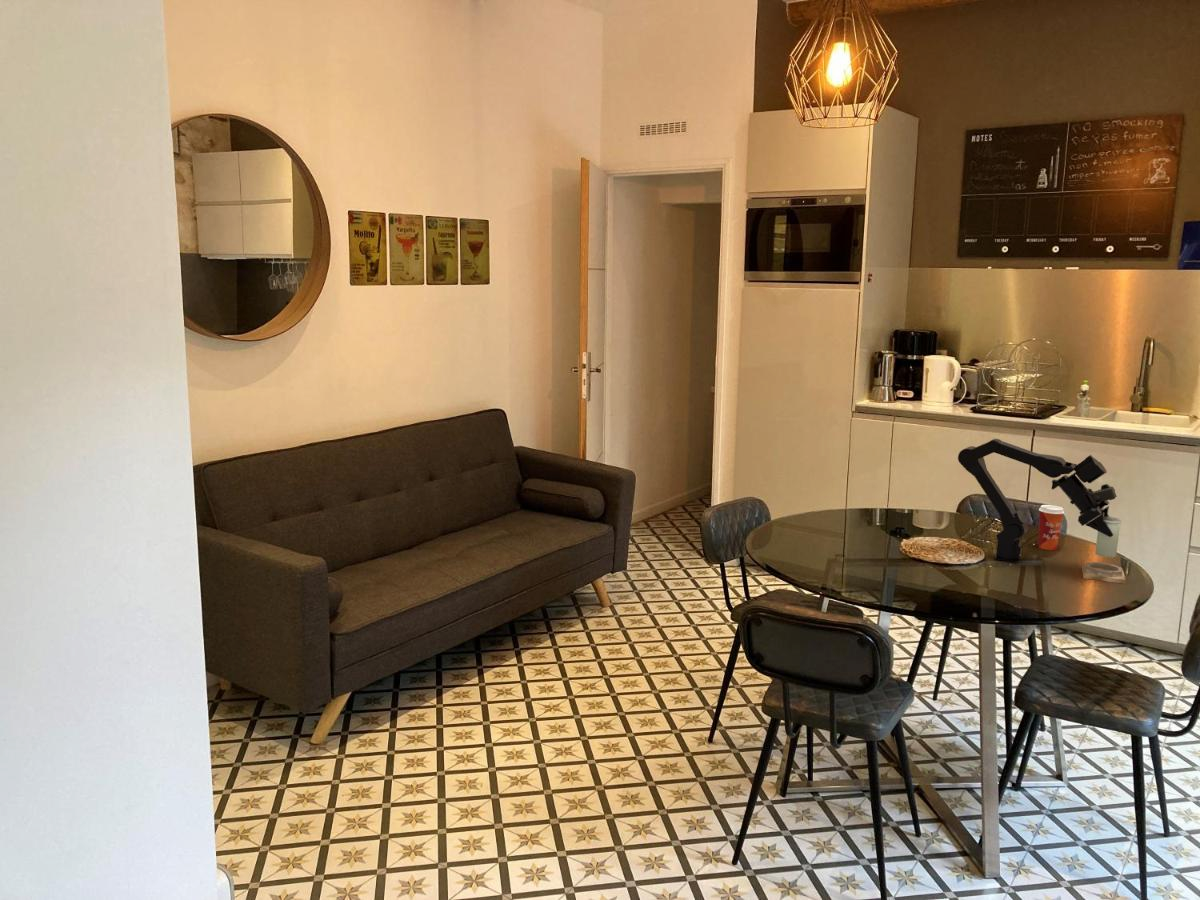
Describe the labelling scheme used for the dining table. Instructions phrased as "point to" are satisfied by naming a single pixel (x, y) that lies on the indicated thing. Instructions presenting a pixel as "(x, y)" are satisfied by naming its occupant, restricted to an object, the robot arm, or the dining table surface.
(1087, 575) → the seat board
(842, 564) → the dining table surface
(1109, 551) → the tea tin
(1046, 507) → the paper cup
